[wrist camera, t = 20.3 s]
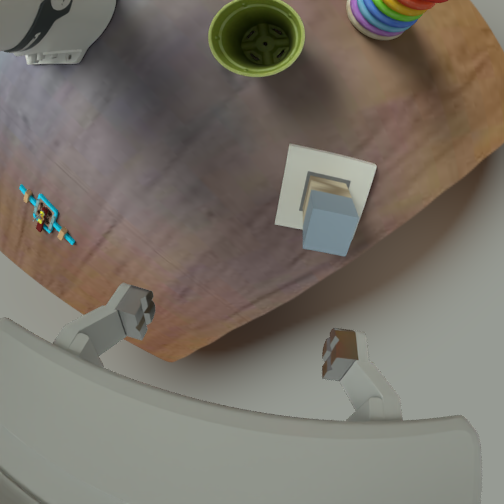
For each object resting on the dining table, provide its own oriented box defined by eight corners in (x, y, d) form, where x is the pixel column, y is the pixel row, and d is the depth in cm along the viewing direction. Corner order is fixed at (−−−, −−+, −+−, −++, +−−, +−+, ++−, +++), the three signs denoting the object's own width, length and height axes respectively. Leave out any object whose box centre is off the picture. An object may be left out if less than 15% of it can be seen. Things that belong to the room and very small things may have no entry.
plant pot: (274, 91, 31) (267, 94, 24) (214, 54, 29) (190, 49, 22) (318, 39, 26) (324, 27, 19) (255, 1, 24) (243, -19, 17)
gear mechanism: (69, 253, 55) (80, 230, 50) (56, 267, 50) (65, 245, 46) (19, 200, 48) (25, 173, 44) (4, 211, 44) (9, 183, 39)
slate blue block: (302, 225, 35) (302, 248, 31) (311, 189, 32) (312, 208, 28) (340, 233, 34) (345, 256, 30) (351, 198, 31) (359, 218, 27)
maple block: (302, 208, 39) (302, 225, 35) (310, 175, 36) (311, 189, 32) (336, 215, 38) (340, 233, 34) (346, 183, 35) (352, 198, 31)
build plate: (275, 220, 42) (274, 224, 41) (289, 143, 35) (289, 145, 34) (351, 236, 41) (352, 240, 40) (374, 163, 34) (377, 166, 33)
